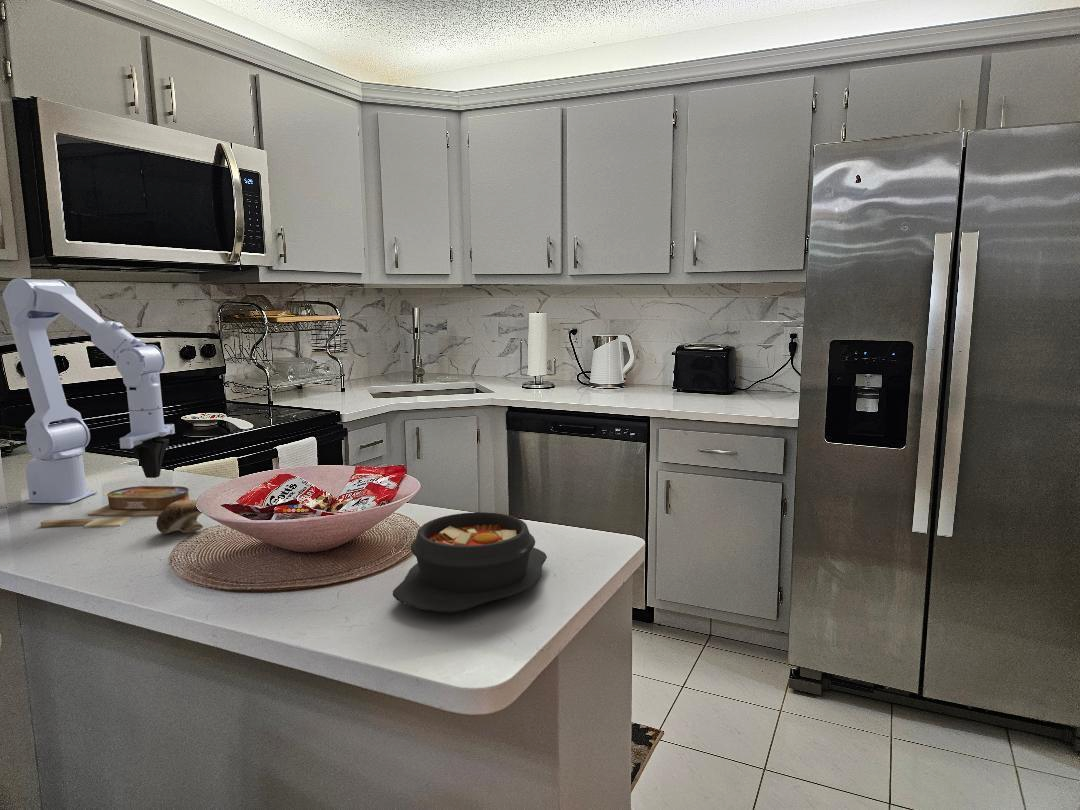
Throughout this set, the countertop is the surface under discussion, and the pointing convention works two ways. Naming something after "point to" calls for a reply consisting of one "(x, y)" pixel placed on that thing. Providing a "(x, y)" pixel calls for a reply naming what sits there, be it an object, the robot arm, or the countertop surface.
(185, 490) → the tin
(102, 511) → the tan flat board
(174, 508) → the mushroom
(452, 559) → the casserole
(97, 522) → the turner
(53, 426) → the robot arm
